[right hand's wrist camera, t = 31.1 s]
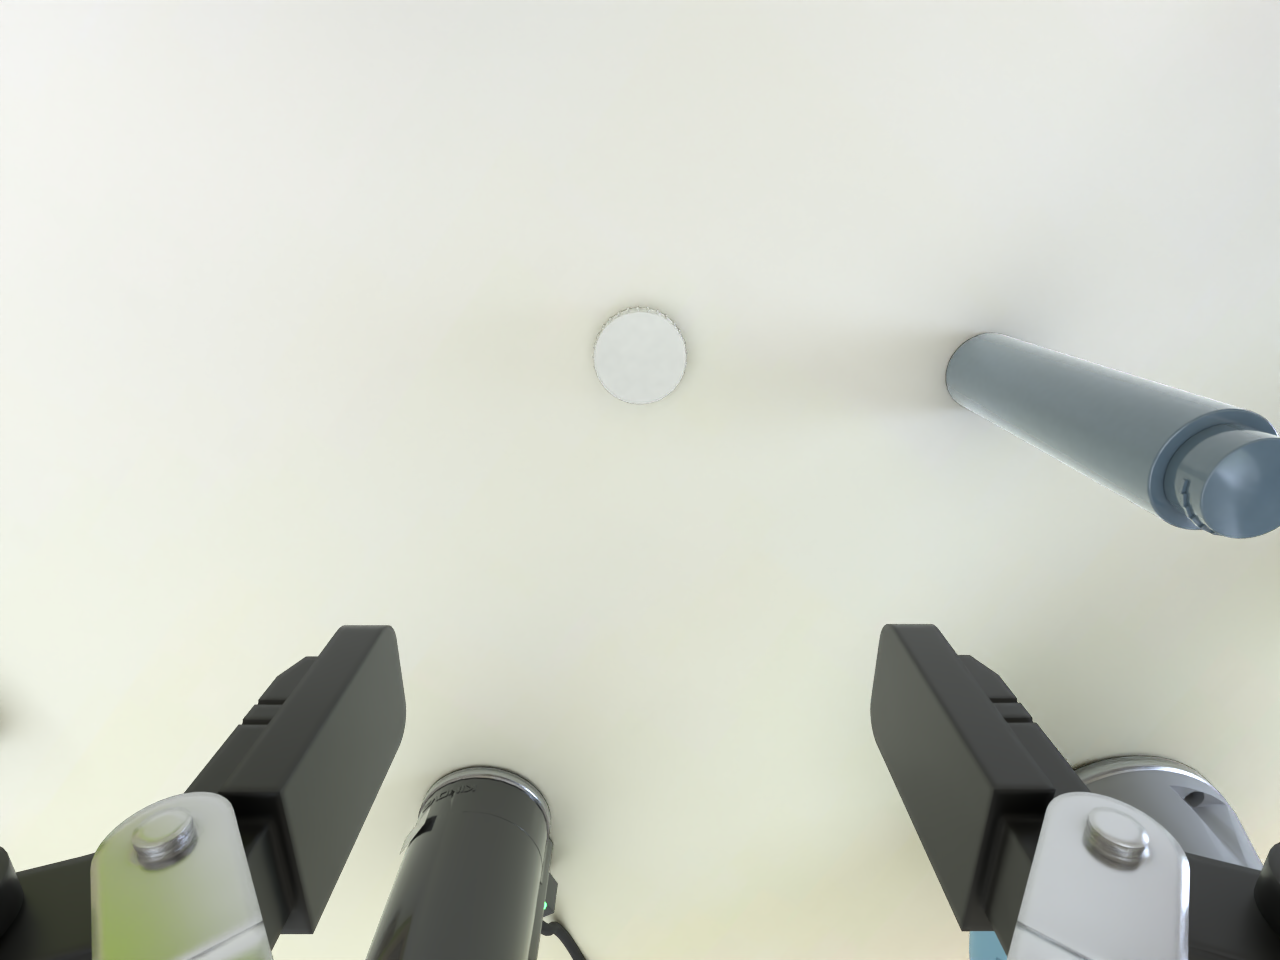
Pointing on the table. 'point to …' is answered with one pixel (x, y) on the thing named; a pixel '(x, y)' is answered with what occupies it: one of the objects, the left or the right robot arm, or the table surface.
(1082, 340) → the table surface
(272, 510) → the table surface
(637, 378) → the lid
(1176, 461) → the blue slim bottle
